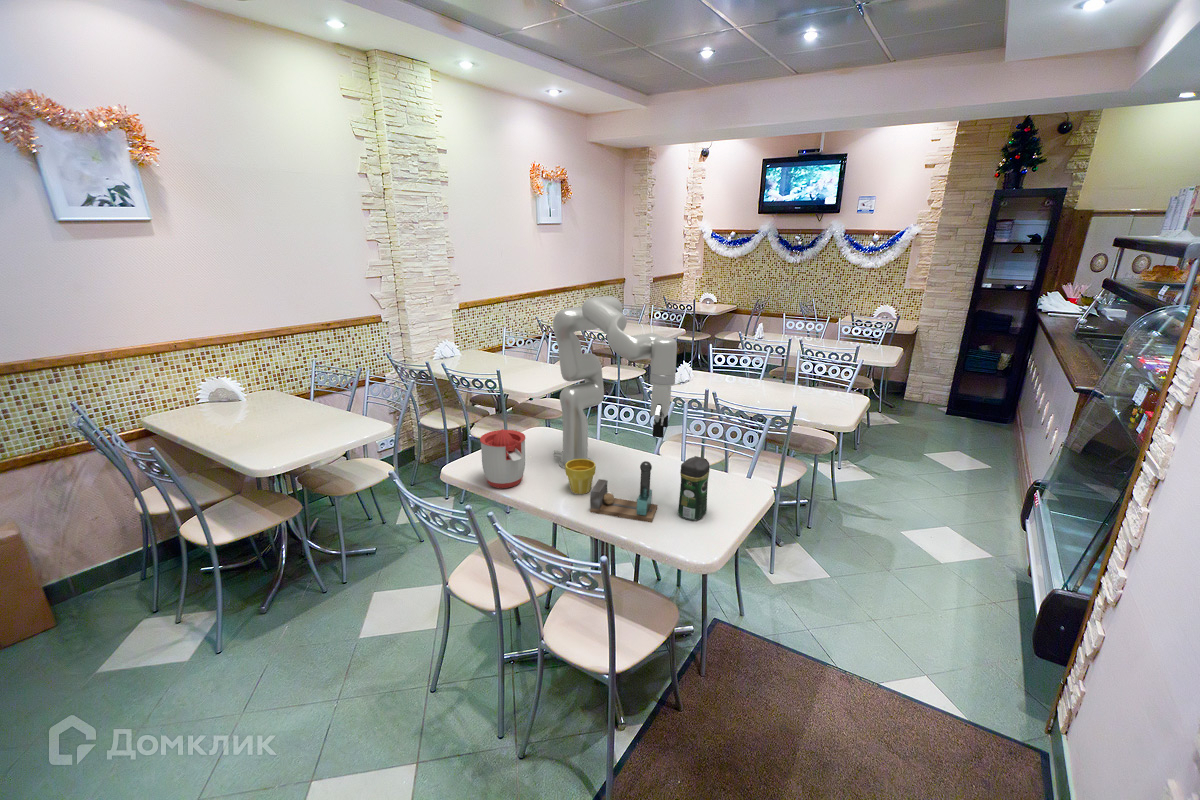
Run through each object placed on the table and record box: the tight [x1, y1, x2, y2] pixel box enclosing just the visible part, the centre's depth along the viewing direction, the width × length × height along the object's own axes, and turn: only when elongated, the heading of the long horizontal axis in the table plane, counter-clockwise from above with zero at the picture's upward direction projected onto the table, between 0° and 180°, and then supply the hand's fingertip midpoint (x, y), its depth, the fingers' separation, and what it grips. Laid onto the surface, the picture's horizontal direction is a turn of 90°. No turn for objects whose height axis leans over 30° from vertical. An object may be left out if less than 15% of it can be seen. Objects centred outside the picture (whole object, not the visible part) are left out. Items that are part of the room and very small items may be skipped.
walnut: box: [603, 492, 615, 504], centre depth 166 cm, size 4×4×4 cm
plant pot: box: [564, 459, 596, 495], centre depth 177 cm, size 10×10×10 cm
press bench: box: [589, 478, 659, 523], centre depth 164 cm, size 20×9×8 cm, turn 73°
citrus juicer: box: [479, 428, 526, 490], centre depth 180 cm, size 16×17×20 cm
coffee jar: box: [677, 455, 711, 521], centre depth 161 cm, size 10×8×19 cm
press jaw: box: [636, 460, 653, 516], centre depth 160 cm, size 4×8×16 cm, turn 163°
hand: (660, 431), depth 161 cm, fingers open, 9 cm apart
